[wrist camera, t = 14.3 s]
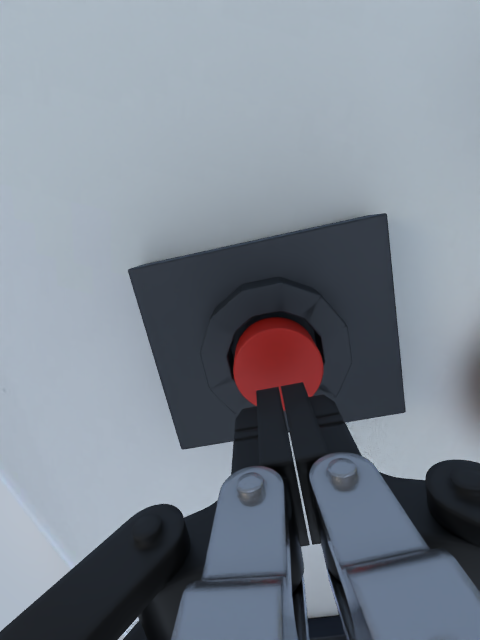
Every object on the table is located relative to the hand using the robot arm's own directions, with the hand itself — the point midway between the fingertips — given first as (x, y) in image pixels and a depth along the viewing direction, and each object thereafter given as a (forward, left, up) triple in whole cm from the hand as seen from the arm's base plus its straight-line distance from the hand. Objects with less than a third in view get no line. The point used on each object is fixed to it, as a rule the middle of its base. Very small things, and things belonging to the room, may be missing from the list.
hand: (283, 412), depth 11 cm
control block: (0, 0, -8) cm, 8 cm away
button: (0, 0, -4) cm, 5 cm away
